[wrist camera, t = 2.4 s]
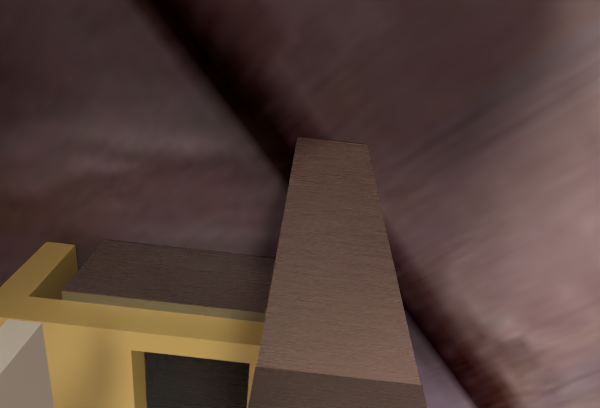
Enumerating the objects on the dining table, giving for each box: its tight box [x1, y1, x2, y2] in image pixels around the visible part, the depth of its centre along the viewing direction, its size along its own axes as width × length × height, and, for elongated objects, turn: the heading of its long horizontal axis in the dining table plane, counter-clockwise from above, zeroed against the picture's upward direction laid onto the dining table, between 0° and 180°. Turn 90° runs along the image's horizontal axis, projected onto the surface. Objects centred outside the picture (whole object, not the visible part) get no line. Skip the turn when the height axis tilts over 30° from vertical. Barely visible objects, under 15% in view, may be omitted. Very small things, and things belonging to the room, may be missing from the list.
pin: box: [248, 137, 427, 408], centre depth 16 cm, size 3×3×16 cm
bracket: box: [0, 242, 264, 408], centre depth 25 cm, size 7×13×6 cm, turn 84°
